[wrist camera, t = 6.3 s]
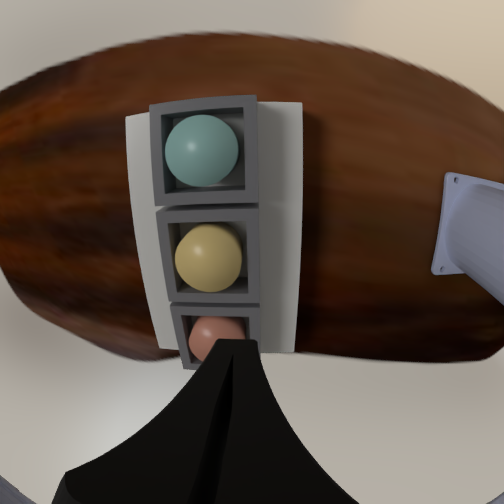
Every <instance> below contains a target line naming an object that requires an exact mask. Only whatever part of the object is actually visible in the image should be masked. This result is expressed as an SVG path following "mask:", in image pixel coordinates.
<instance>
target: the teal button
mask: <svg viewBox="0 0 504 504" xmlns="http://www.w3.org/2000/svg"><path fill="white" fill-rule="evenodd" d="M165 157H166V162H167V165H168V167H169V169H170V171H171V172H172V173H173V175H174V176H175V177H176V178H177V179H179V180H180V181H182V182H183V183H185V184H188V185H191V186H197V187H202V186H209V185H212V184H215V183H217V182H218V181H220V180H222V179H223V178H224V177H226V176H227V175H228V174H229V173H230V172H232V170H233V169H234V168H235V166H236V165H237V162H238V160H239V157H240V143H239V139H238V137H237V135H236V133H235V132H234V130H233V129H232V128H231V127H230V126H228V125H227V124H226V123H224V122H223V121H222V120H220V119H218V118H216V117H213V116H210V115H195V116H191V117H189V118H186V119H184V120H183V121H181V122H180V123H179V124H177V125H176V126H175V127H174V129H173V130H172V131H171V133H170V135H169V137H168V139H167V142H166V147H165Z"/></svg>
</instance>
